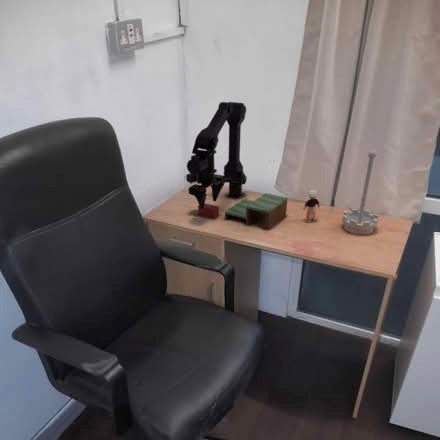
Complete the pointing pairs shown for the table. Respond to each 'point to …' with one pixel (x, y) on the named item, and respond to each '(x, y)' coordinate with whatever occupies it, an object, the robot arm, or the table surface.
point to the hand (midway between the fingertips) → (208, 204)
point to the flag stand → (362, 209)
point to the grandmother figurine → (311, 206)
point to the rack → (260, 209)
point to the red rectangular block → (209, 211)
